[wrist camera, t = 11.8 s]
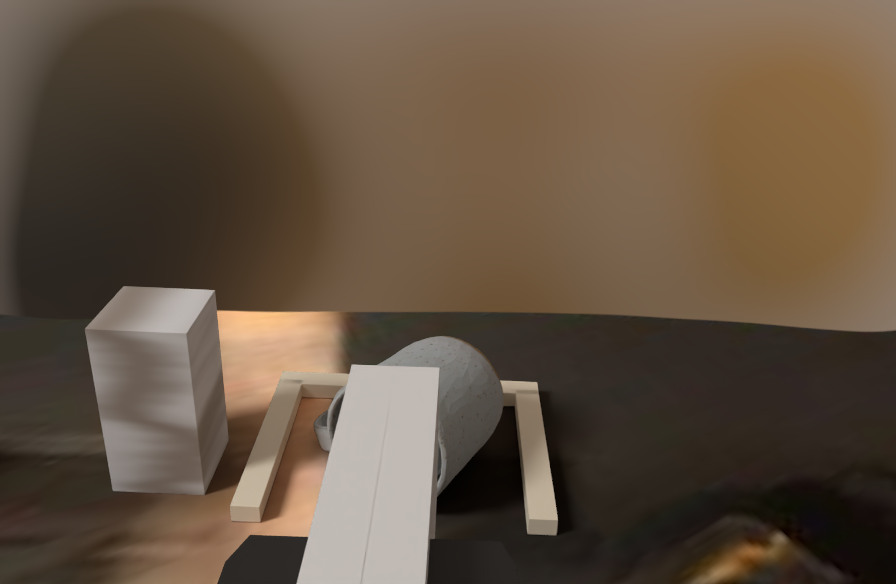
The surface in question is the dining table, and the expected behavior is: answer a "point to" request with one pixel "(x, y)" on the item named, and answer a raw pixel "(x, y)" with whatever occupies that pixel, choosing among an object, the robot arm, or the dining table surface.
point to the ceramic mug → (444, 401)
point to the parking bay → (326, 385)
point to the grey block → (160, 388)
